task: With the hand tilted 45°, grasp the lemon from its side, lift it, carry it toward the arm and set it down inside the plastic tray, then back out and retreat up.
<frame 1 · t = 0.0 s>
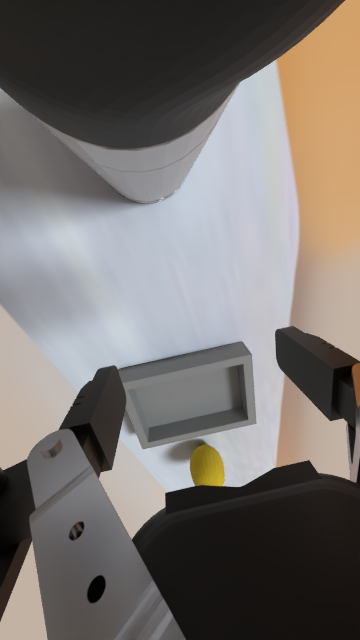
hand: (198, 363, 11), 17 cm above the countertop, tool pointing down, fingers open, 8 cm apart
tray: (189, 389, 33), on the countertop
lemon: (202, 444, 39), on the countertop
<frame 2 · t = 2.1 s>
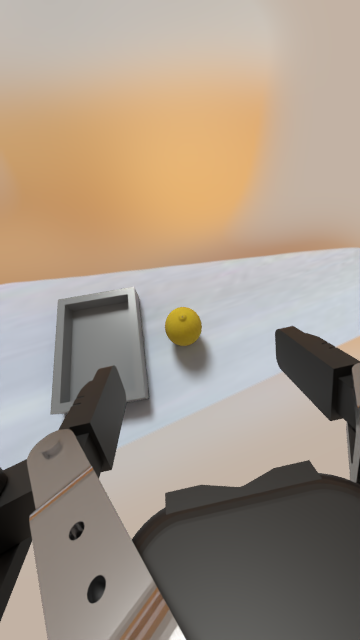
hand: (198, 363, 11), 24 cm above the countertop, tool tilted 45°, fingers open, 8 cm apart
tray: (105, 349, 36), on the countertop
lemon: (184, 335, 36), on the countertop
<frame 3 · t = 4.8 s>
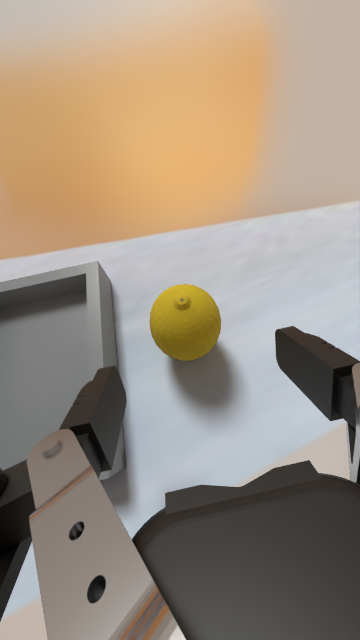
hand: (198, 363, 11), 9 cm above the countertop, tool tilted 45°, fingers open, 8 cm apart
tray: (50, 371, 20), on the countertop
lemon: (188, 341, 21), on the countertop
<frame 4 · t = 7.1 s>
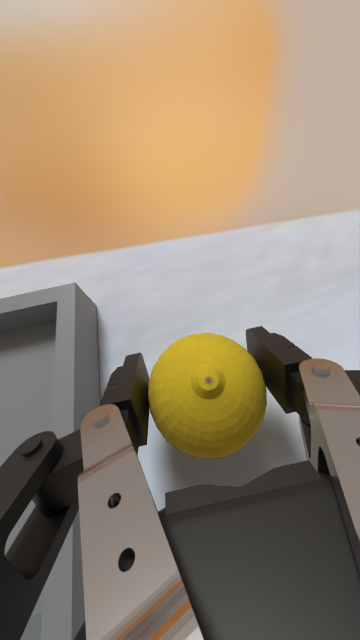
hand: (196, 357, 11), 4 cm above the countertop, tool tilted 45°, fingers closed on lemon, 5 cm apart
tray: (5, 442, 14), on the countertop
lemon: (203, 398, 14), on the countertop, touching gripper
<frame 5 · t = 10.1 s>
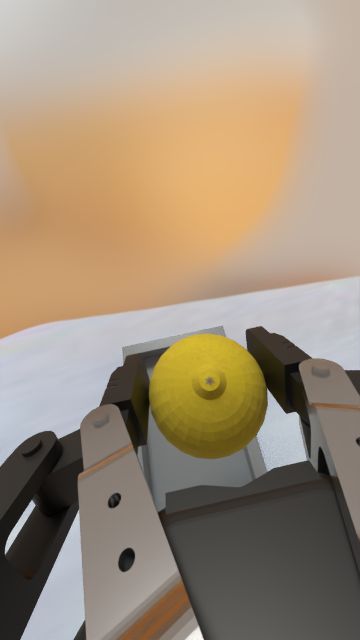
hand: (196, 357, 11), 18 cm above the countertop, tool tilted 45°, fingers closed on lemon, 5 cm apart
tray: (188, 413, 26), on the countertop
lemon: (203, 399, 14), point 13 cm above the countertop, touching gripper
when the fingers open (7 cm above the countertop, at t = 13.4 s): lemon drops 1 cm, resting on tray.
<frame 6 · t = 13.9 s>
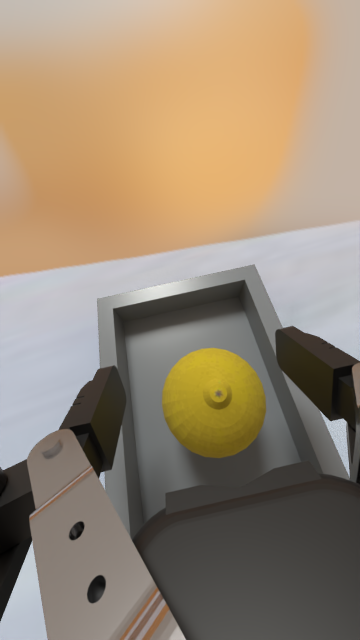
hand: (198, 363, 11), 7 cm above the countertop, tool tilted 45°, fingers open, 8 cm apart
tray: (202, 400, 16), on the countertop
lemon: (207, 402, 16), point 1 cm above the countertop, touching tray
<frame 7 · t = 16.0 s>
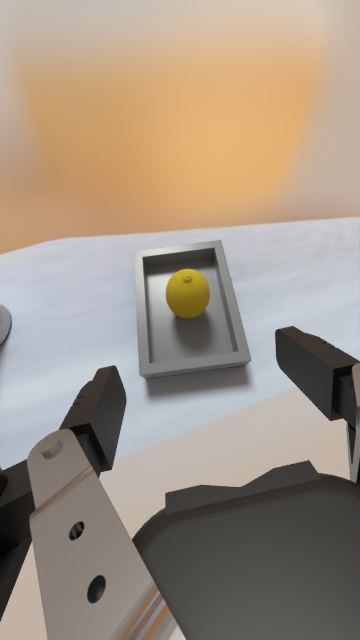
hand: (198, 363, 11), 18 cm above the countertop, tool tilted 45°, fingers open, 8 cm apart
tray: (185, 310, 31), on the countertop
lemon: (188, 309, 30), point 1 cm above the countertop, touching tray
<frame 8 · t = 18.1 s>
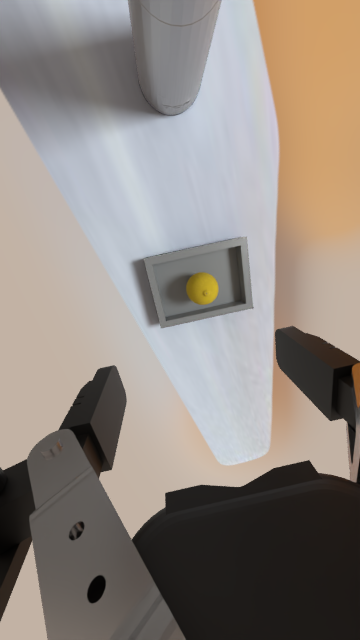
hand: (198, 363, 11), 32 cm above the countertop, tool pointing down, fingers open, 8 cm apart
tray: (198, 281, 42), on the countertop
lemon: (198, 284, 41), point 1 cm above the countertop, touching tray
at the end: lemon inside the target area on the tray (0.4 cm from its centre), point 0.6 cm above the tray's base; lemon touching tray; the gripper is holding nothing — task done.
